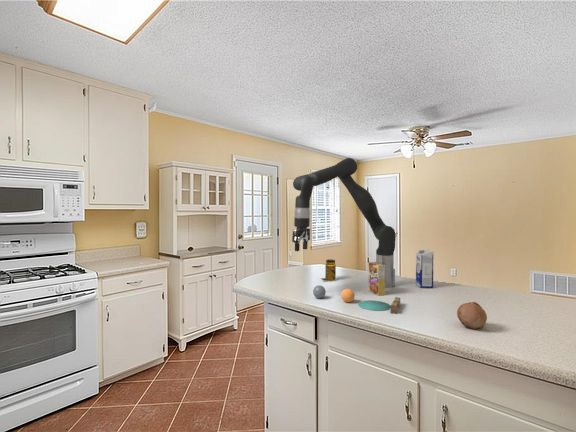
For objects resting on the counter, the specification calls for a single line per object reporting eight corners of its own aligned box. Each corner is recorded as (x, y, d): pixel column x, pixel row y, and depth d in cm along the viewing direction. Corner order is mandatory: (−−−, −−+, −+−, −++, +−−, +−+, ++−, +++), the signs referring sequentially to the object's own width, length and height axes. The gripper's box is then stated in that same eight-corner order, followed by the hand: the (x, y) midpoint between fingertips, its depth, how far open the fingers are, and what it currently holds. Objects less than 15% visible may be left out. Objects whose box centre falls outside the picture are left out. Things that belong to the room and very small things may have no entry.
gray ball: (323, 295, 157) (323, 283, 157) (327, 299, 151) (327, 286, 151) (311, 296, 155) (311, 284, 155) (315, 300, 150) (315, 287, 149)
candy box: (368, 291, 165) (368, 261, 165) (375, 290, 167) (375, 261, 166) (377, 296, 157) (378, 265, 156) (385, 295, 158) (385, 264, 158)
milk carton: (433, 288, 171) (433, 251, 171) (420, 288, 171) (421, 251, 171) (427, 285, 178) (428, 249, 178) (415, 284, 179) (416, 249, 178)
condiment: (337, 281, 188) (337, 260, 187) (323, 281, 187) (323, 261, 186) (334, 278, 195) (334, 258, 195) (320, 278, 194) (320, 259, 193)
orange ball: (351, 299, 151) (351, 286, 150) (356, 303, 145) (356, 290, 145) (339, 300, 149) (339, 287, 149) (344, 304, 143) (344, 291, 143)
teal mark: (380, 299, 150) (380, 299, 150) (397, 309, 136) (397, 308, 136) (352, 302, 147) (352, 301, 147) (367, 311, 133) (367, 311, 133)
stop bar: (395, 303, 144) (395, 297, 144) (400, 304, 143) (400, 297, 143) (390, 313, 132) (390, 305, 132) (395, 313, 131) (395, 306, 131)
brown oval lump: (473, 332, 120) (479, 306, 122) (489, 335, 110) (495, 307, 113) (449, 322, 120) (455, 296, 122) (463, 324, 111) (469, 297, 113)
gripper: (301, 216, 164) (301, 248, 165) (288, 217, 152) (287, 251, 153) (315, 217, 161) (314, 249, 161) (302, 217, 148) (301, 252, 149)
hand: (301, 250), depth 157 cm, fingers open, 8 cm apart
